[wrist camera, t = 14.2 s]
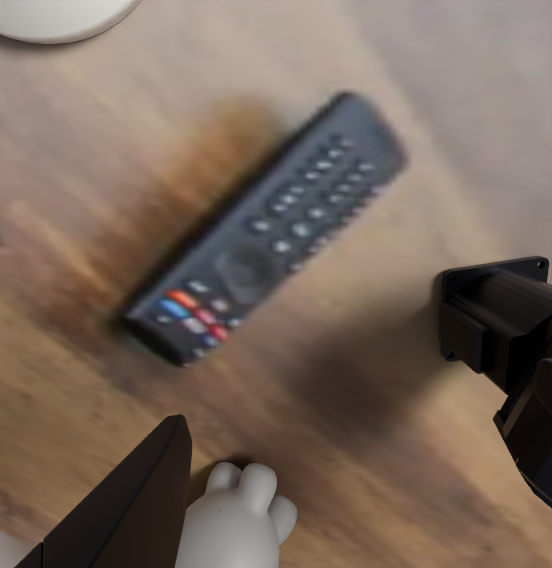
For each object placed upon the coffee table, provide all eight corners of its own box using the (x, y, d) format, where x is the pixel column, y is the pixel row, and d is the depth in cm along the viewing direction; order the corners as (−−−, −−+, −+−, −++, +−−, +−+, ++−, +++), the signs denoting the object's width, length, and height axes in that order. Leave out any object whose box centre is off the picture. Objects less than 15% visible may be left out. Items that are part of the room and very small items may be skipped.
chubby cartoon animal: (151, 448, 28) (65, 562, 21) (278, 449, 23) (221, 601, 16) (188, 507, 30) (121, 629, 23) (311, 520, 25) (275, 682, 18)
